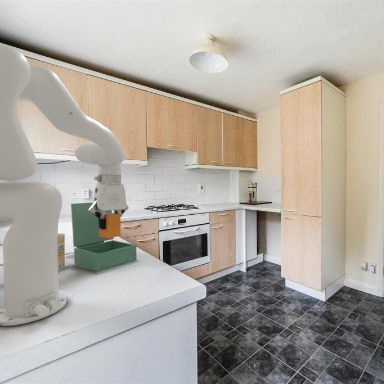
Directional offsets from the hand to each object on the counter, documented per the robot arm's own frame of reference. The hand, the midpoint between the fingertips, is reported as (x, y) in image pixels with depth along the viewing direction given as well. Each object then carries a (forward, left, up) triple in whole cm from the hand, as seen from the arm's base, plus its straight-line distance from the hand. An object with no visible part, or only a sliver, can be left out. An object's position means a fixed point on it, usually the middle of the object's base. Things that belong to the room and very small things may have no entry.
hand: (109, 227), depth 88 cm
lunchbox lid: (+11, 0, +1) cm, 11 cm away
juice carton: (0, 0, -3) cm, 3 cm away
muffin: (+22, -4, -15) cm, 27 cm away
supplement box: (+11, +15, -15) cm, 24 cm away
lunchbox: (+3, 0, -15) cm, 15 cm away
